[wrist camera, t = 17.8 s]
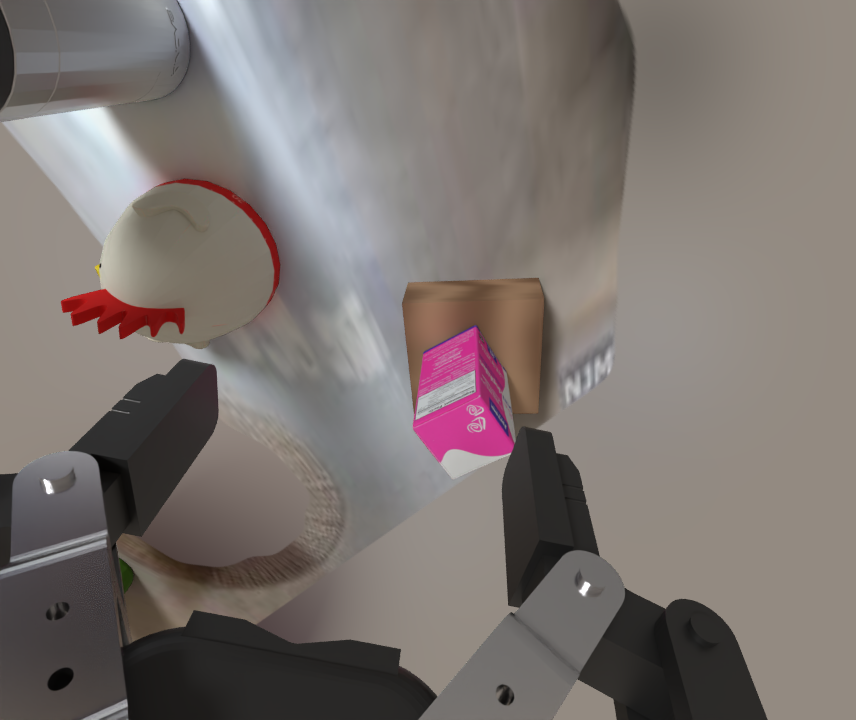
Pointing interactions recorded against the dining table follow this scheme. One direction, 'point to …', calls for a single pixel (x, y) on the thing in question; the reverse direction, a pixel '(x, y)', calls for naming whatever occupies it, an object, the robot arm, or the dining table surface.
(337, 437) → the dining table surface
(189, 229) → the kitchen timer
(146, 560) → the dining table surface
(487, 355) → the supplement box
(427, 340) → the walnut block
